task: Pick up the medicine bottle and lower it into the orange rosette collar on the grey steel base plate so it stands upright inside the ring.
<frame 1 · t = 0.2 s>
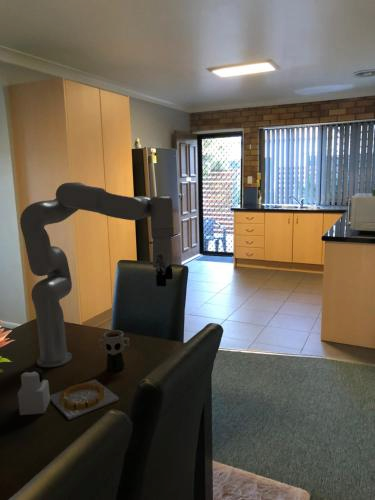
hand: (164, 282, 142), 31 cm above the table, tool pointing down, fingers open, 9 cm apart
rosette seat: (83, 399, 128), on the table
character mug: (115, 368, 148), on the table
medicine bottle: (35, 408, 124), on the table
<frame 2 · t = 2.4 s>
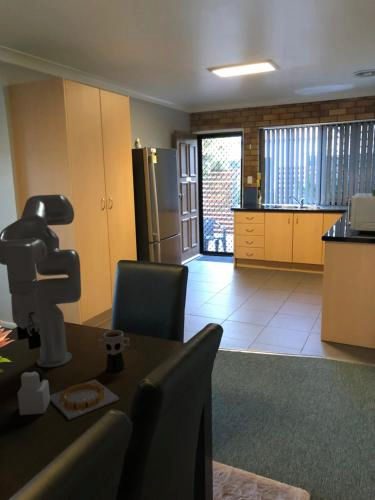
hand: (29, 343, 120), 20 cm above the table, tool pointing down, fingers open, 9 cm apart
nothing on the table moved.
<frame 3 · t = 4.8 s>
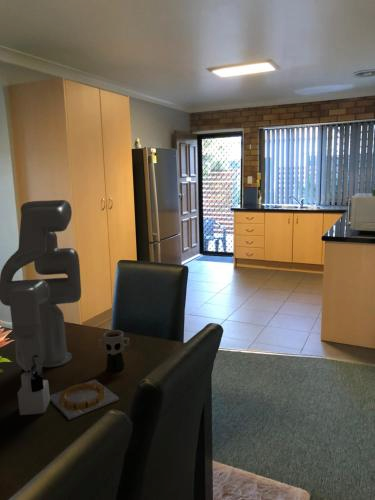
hand: (32, 384, 122), 7 cm above the table, tool pointing down, fingers closed on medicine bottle, 7 cm apart
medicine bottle: (35, 408, 124), on the table, touching gripper
everything else where it was.
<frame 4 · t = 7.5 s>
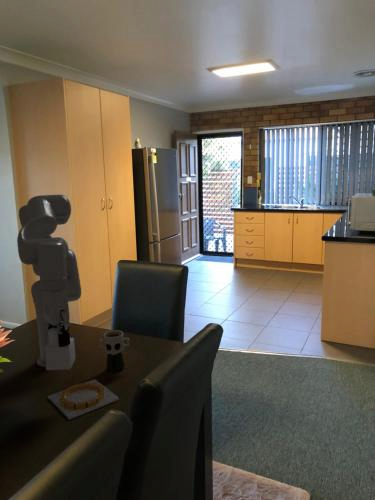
hand: (59, 341, 123), 20 cm above the table, tool pointing down, fingers closed on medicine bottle, 7 cm apart
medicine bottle: (61, 365, 124), point 12 cm above the table, touching gripper
everything else where it was.
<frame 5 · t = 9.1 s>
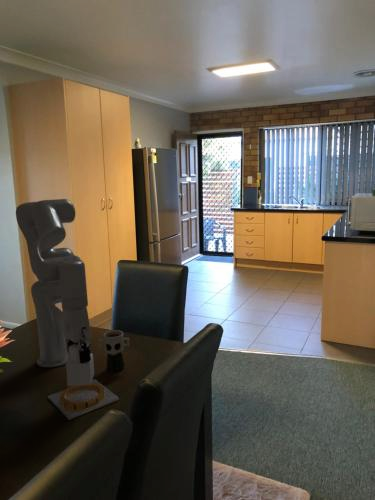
hand: (79, 357, 125), 14 cm above the table, tool pointing down, fingers closed on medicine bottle, 7 cm apart
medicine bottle: (81, 381, 127), point 6 cm above the table, touching gripper
everything else where it was.
when the fingers open (10 cm above the table, at t = 10.5 s): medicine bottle drops 1 cm, resting on rosette seat.
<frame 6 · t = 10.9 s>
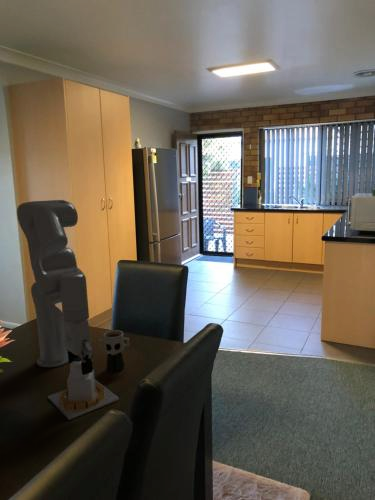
hand: (80, 367, 126), 10 cm above the table, tool pointing down, fingers open, 9 cm apart
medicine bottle: (82, 397, 128), point 1 cm above the table, touching rosette seat
everything else where it was.
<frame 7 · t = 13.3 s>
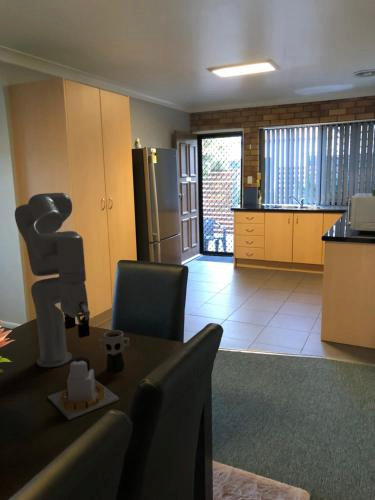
hand: (77, 332, 124), 22 cm above the table, tool pointing down, fingers open, 9 cm apart
nothing on the table moved.
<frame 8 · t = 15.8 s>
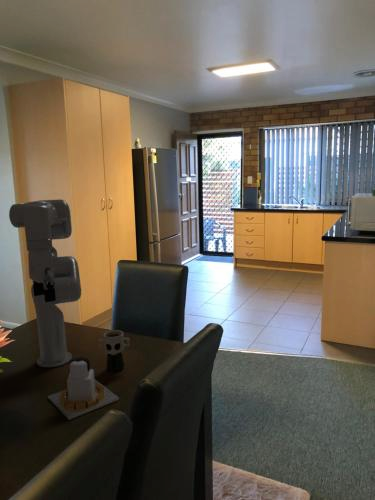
hand: (44, 298, 131), 30 cm above the table, tool pointing down, fingers open, 9 cm apart
nothing on the table moved.
at the end: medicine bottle 0.3 cm off-centre on the rosette seat, point 0.6 cm above the rosette seat's base; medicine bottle tilted 0°; the gripper is holding nothing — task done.
